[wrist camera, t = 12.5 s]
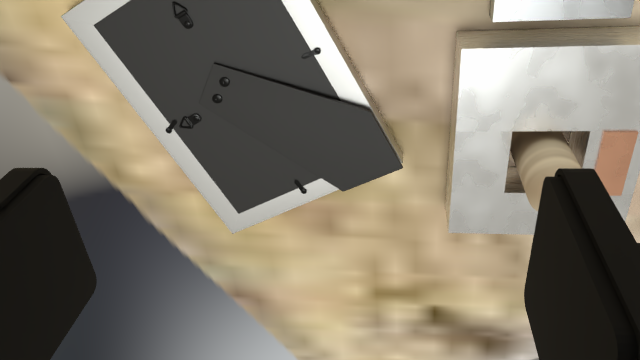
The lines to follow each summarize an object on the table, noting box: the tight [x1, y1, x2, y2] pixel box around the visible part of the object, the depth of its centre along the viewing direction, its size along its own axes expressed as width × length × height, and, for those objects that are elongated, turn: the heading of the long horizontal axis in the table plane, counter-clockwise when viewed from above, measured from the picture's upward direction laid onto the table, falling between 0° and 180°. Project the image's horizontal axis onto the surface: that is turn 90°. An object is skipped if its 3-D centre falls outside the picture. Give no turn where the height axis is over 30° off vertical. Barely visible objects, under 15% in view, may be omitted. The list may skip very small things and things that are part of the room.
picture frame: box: [61, 0, 403, 234], centre depth 39 cm, size 16×3×21 cm
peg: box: [510, 131, 581, 211], centre depth 36 cm, size 4×4×7 cm
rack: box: [445, 0, 640, 235], centre depth 35 cm, size 21×12×4 cm, turn 4°
